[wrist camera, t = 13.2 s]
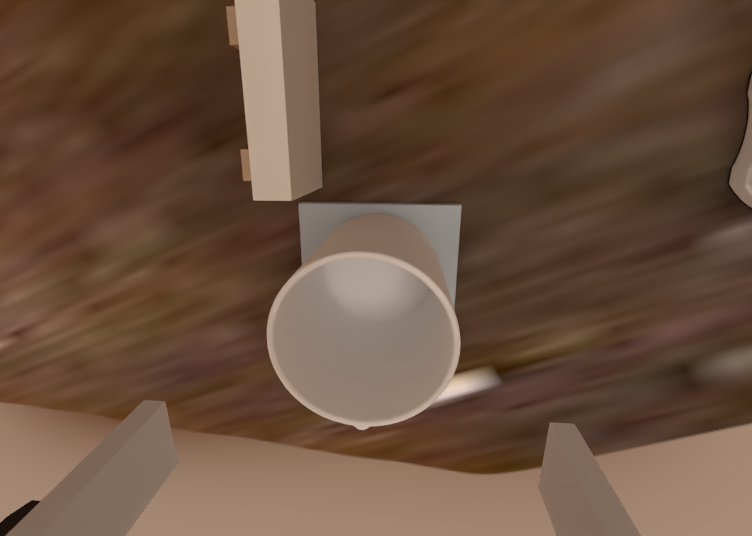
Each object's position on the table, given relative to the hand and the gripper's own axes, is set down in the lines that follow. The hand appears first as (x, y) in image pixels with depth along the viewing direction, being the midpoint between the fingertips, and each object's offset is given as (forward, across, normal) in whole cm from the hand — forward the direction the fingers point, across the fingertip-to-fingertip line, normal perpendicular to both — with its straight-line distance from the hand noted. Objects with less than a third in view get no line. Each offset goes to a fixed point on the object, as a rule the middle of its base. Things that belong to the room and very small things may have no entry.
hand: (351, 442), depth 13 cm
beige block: (+16, -7, +12) cm, 21 cm away
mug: (+15, 0, -1) cm, 15 cm away
